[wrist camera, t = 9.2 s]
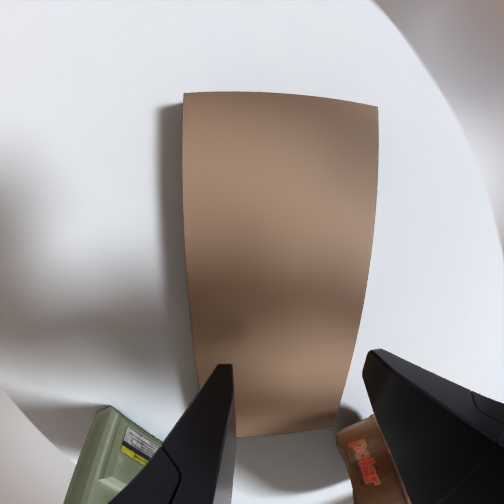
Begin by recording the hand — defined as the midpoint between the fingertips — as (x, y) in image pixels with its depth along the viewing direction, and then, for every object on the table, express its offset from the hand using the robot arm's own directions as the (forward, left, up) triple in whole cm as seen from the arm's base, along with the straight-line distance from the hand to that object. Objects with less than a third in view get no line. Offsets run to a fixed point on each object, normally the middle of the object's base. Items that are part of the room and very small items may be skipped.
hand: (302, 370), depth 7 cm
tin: (-13, -7, -4) cm, 15 cm away
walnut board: (0, 0, -5) cm, 5 cm away
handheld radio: (-10, +8, -5) cm, 14 cm away
